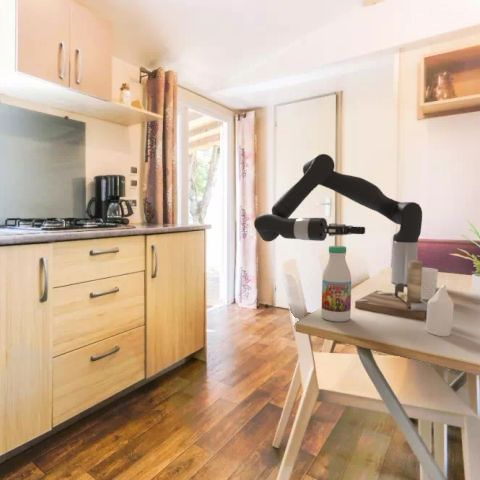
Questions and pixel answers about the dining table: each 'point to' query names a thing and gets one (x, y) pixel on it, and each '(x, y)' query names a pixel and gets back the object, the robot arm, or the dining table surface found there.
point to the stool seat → (390, 305)
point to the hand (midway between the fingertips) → (364, 230)
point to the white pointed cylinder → (440, 313)
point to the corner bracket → (419, 306)
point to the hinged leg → (411, 284)
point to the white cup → (428, 282)
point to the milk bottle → (336, 286)
